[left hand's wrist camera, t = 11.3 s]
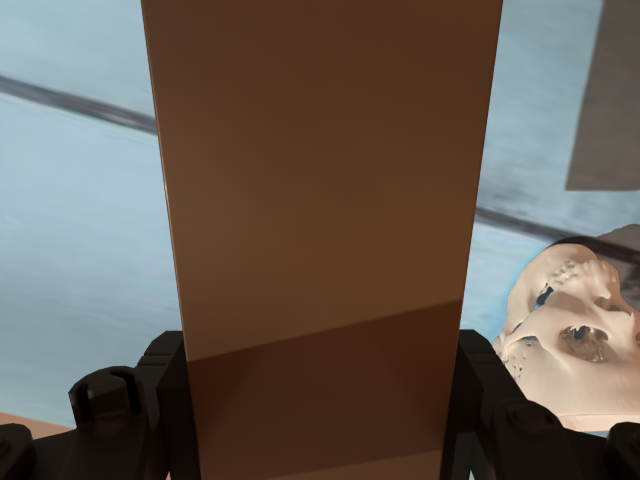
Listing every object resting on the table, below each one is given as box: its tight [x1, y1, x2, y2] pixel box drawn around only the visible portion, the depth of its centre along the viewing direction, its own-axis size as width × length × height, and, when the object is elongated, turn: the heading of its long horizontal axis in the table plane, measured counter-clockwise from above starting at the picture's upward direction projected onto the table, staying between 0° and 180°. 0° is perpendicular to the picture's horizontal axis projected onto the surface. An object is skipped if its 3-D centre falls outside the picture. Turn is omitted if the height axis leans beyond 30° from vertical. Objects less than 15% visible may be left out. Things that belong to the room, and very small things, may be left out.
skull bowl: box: [492, 244, 640, 431], centre depth 30 cm, size 10×14×12 cm
